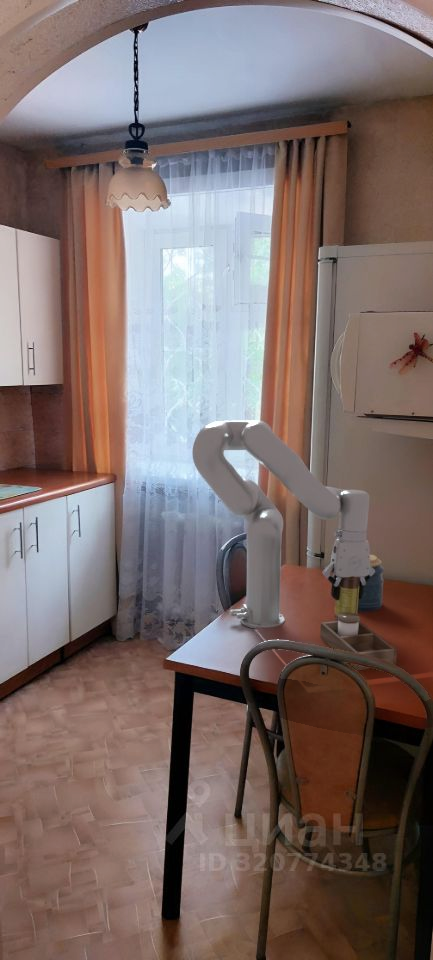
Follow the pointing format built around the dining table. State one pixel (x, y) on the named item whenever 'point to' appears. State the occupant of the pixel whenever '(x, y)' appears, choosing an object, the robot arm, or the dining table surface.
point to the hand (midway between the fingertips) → (346, 597)
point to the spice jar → (348, 624)
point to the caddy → (358, 642)
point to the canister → (372, 588)
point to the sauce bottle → (347, 596)
